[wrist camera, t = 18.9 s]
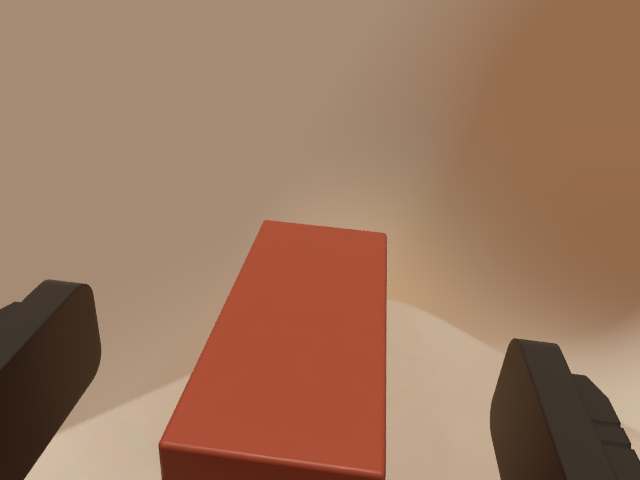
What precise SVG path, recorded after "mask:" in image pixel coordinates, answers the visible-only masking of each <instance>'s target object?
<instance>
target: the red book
mask: <svg viewBox="0 0 640 480" xmlns="http://www.w3.org/2000/svg"><path fill="white" fill-rule="evenodd" d="M386 282H387V236H386V234H385V233H379V232H370V231H361V230H351V229H341V228H333V227H324V226H315V225H304V224H296V223H287V222H278V221H269V220H266V221H264V222H263V224H262V226H261V229H260V230H259V232H258V234H257V237H256V239H255V241H254V243H253V245H252V247H251V249H250V252H249V254H248V256H247V258H246V260H245V262H244V264H243V266H242V268H241V270H240V273H239V275H238V277H237V279H236V281H235V283H234V285H233V288H232V290H231V292H230V294H229V296H228V298H227V300H226V302H225V304H224V307H223V309H222V311H221V313H220V315H219V317H218V319H217V322H216V323H215V326H214V328H213V330H212V332H211V334H210V336H209V338H208V340H207V343H206V345H205V347H204V349H203V351H202V353H201V355H200V357H199V359H198V362H197V364H196V366H195V368H194V370H193V372H192V374H191V376H190V379H189V381H188V383H187V385H186V387H185V389H184V391H183V393H182V396H181V398H180V400H179V402H178V404H177V406H176V408H175V410H174V412H173V415H172V417H171V419H170V421H169V423H168V425H167V427H166V429H165V432H164V434H163V436H162V438H161V440H160V442H159V455H160V465H161V474H162V480H385V476H386V286H387V284H386Z"/></svg>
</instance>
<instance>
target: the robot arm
mask: <svg viewBox="0 0 640 480" xmlns="http://www.w3.org/2000/svg"><path fill="white" fill-rule="evenodd" d="M100 359H101V343H100V336H99V329H98V323H97V316H96V309H95V302H94V296H93V292H92V289H91V287H90V286H89V285H87V284H80V283H73V282H65V281H57V280H45V281H43V282H42V283H41V284H40V285H39V286H38V287H37V288H35V289H34V290H33V291H32V292H31V293H30V294H29V295H28V296H27V297H26V298H25V299H24V300H23V301H22V302H14V303H12V304H10V305H8V306H6V307H4V308H2V309H0V480H24V479H25V477H26V476H27V474H28V473H29V471H30V470H31V469H32V467H33V466H34V464H35V463H36V461H37V460H38V458H39V457H40V456H41V454H42V453H43V451H44V450H45V448H46V447H47V445H48V444H49V443H50V441H51V440H52V438H53V437H54V435H55V434H56V432H57V431H58V430H59V428H60V426H61V425H62V424H63V422H64V421H65V419H66V418H67V416H68V415H69V414H70V412H71V411H72V409H73V408H74V406H75V405H76V404H77V402H78V401H79V399H80V398H81V396H82V395H83V393H84V392H85V390H86V389H87V387H88V386H89V384H90V383H91V382H92V380H93V379H94V377H95V375H96V373H97V370H98V367H99V363H100ZM620 424H621V423H620V421H619V419H618V417H617V415H616V413H615V411H614V409H613V407H612V405H611V403H610V401H609V399H608V398H607V397H606V396H605V395H604V394H603V393H602V392H601V391H600V389H599V388H598V387H596V386H595V384H594V383H593V382H591V380H590V379H589V378H587V376H584V375H577V374H571V372H570V369H569V367H568V365H567V363H566V360H565V358H564V356H563V354H562V351H561V349H560V347H559V346H558V345H557V344H554V343H546V342H539V341H531V340H523V339H515V338H514V339H512V340H511V342H510V344H509V346H508V349H507V352H506V355H505V359H504V362H503V365H502V369H501V372H500V375H499V379H498V382H497V385H496V389H495V392H494V395H493V399H492V403H491V410H490V430H491V436H492V441H493V446H494V450H495V455H496V459H497V464H498V468H499V473H500V478H501V480H640V461H639V459H638V457H637V455H636V453H635V451H634V450H633V449H631V443H630V441H629V439H628V437H627V435H626V433H625V431H624V429H623V428H621V427H620Z"/></svg>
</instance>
